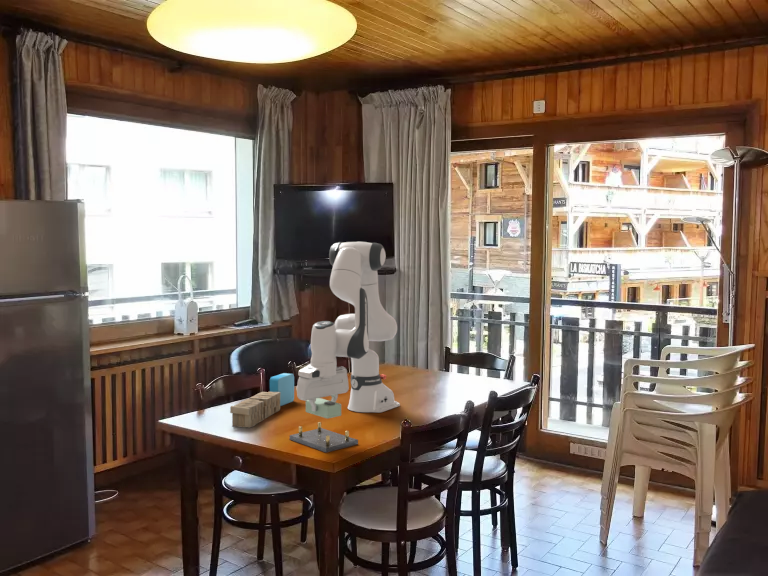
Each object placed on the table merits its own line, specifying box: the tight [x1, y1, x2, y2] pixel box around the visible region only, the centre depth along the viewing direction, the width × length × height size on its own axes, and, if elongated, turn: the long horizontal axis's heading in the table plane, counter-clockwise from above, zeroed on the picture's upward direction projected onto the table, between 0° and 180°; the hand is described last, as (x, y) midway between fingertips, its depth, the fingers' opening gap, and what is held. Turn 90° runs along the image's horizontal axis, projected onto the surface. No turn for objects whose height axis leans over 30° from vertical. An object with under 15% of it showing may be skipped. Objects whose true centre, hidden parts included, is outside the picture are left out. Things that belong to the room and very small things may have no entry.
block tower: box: [229, 391, 281, 428], centre depth 276 cm, size 8×8×29 cm
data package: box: [269, 372, 295, 407], centre depth 300 cm, size 12×4×12 cm, turn 155°
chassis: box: [289, 421, 359, 453], centre depth 245 cm, size 14×20×4 cm
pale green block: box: [305, 397, 342, 419], centre depth 245 cm, size 6×12×5 cm, turn 44°
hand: (323, 409), depth 245 cm, fingers closed on pale green block, 6 cm apart
